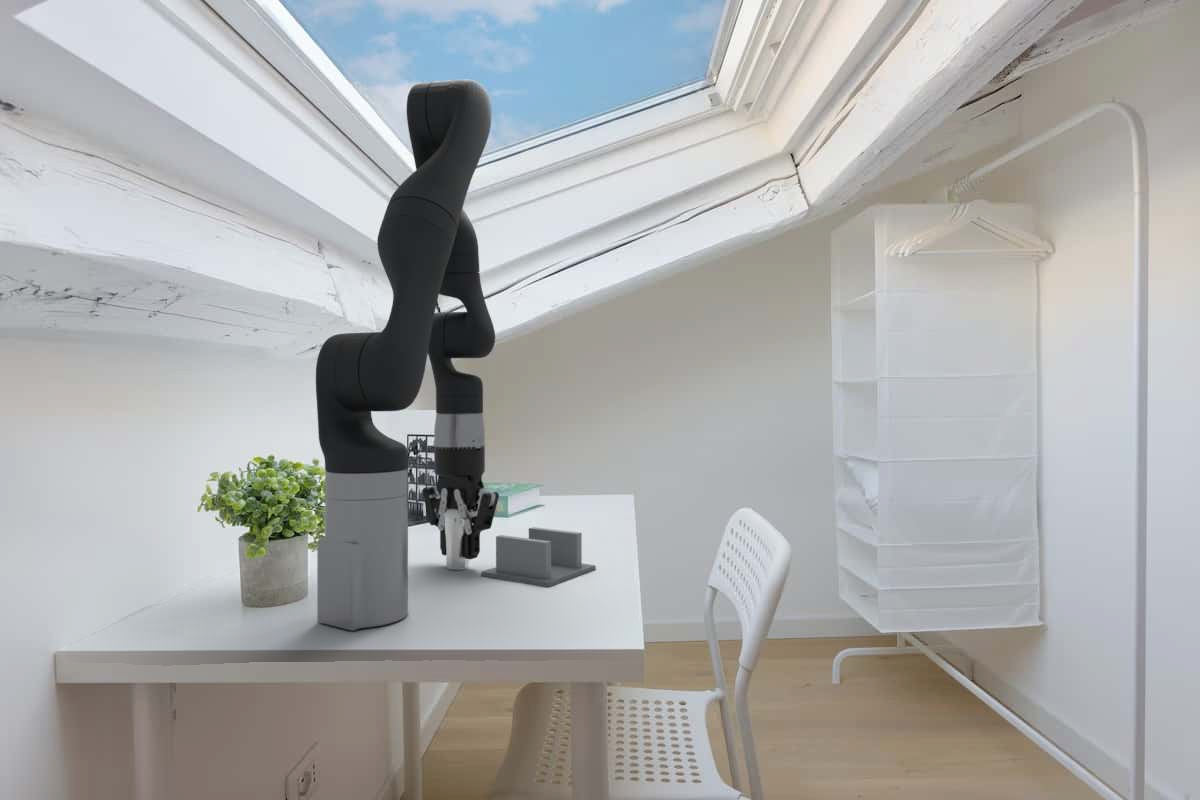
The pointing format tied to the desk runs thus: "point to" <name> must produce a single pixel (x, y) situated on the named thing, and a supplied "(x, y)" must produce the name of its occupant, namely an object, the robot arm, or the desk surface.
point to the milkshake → (455, 540)
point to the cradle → (539, 557)
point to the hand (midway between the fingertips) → (459, 555)
